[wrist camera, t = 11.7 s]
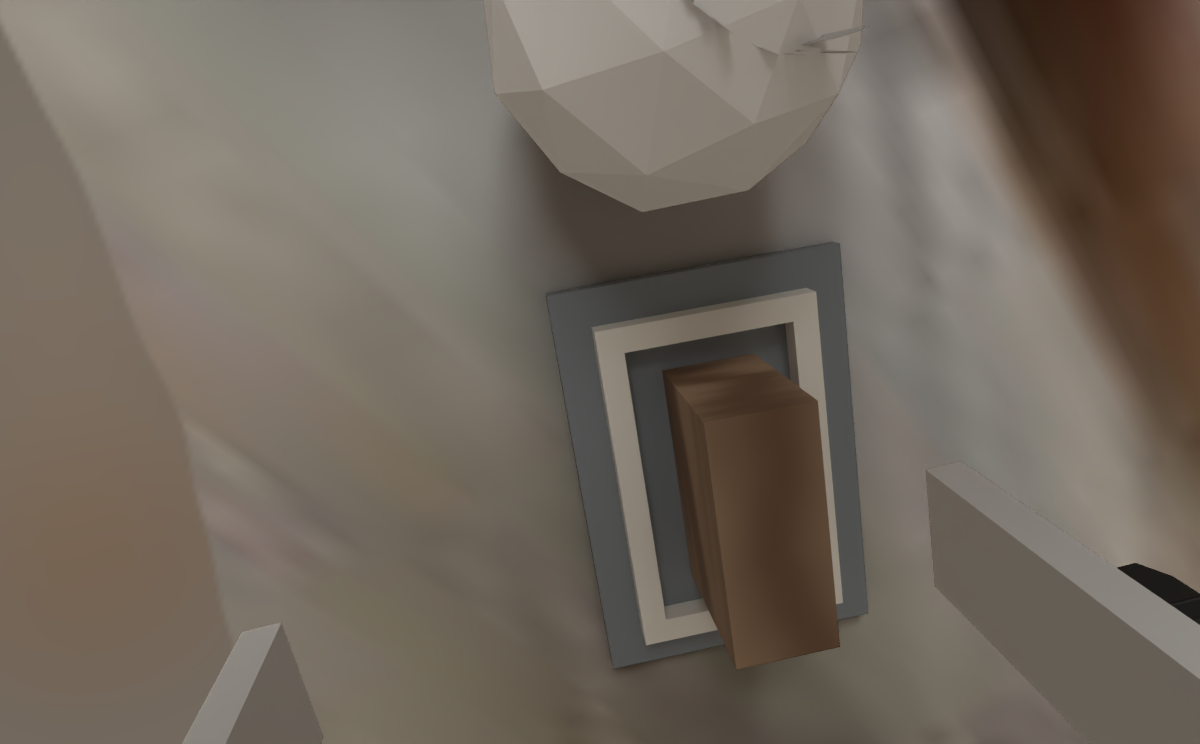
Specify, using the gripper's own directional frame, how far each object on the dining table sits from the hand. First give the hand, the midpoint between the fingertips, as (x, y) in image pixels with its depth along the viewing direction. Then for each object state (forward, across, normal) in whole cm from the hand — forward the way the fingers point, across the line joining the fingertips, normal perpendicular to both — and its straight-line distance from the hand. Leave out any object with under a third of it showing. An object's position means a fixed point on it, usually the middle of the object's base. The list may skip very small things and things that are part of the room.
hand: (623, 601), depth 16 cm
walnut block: (+22, +7, -8) cm, 24 cm away
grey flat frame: (+22, +7, -8) cm, 25 cm away
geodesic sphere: (+23, +6, +12) cm, 27 cm away
